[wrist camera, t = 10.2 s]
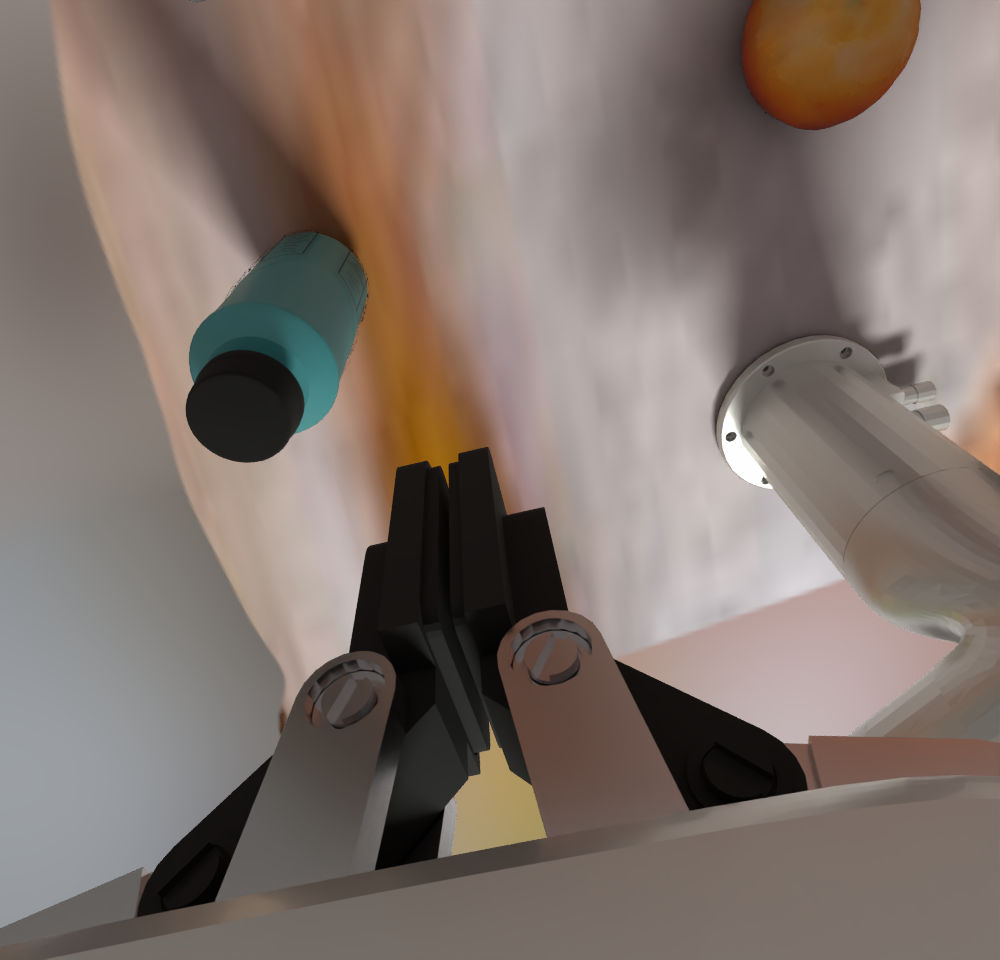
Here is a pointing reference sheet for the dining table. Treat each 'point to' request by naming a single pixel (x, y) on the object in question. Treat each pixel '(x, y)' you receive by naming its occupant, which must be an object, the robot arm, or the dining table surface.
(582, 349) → the dining table surface
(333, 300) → the beverage bottle
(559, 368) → the dining table surface
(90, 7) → the dining table surface
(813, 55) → the fruit
